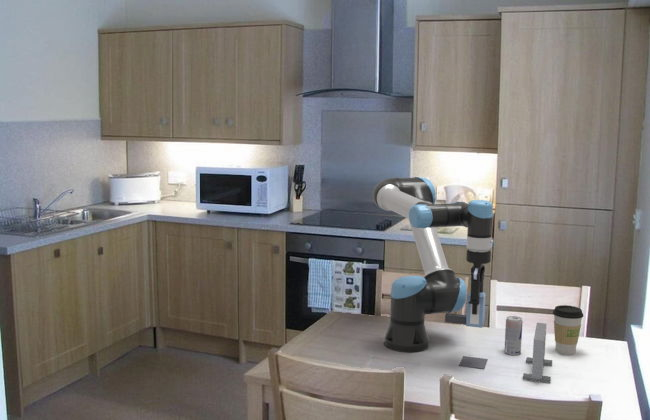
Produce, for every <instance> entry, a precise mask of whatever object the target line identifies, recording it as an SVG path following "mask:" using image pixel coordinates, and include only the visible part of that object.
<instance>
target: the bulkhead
mask: <svg viewBox="0 0 650 420" xmlns="http://www.w3.org/2000/svg"><path fill="white" fill-rule="evenodd" d="M535 325H536V326H535V332H534V336H533V345H532V357H530V356H529V357H527V356H526V360H525V363H526V364H530V365H531V373H523V374H522V380H523V381H530V382H537V383H543V384H551V381H552V376H549V375H547V376H546V375H543V371H544V368H545V366H546V367H553V360H552V359H547V358H546V357H545V354H546V339H547V323H546V322H545V323H543V322H536V324H535ZM545 358H546V359H545Z"/></svg>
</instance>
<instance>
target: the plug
mask: <svg viewBox="0 0 650 420" xmlns="http://www.w3.org/2000/svg"><path fill="white" fill-rule="evenodd" d="M470 295H471V290H470V291H469V292H468V294H467V296H466V314H459V313H452V312H451V313H445V314H444V323H448V324H457V325H465V326H466V327H471V328H472V327H473V328H479V329H480V328H481V329H483V326H484V324H485V318H486V317H485V315H486V314H485V313H486V296H487V295H486V292H484V291H483V292H480V297H479V304H480V309H479V325H478V324H470V309H471V304H468V302H470Z"/></svg>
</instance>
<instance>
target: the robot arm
mask: <svg viewBox="0 0 650 420" xmlns="http://www.w3.org/2000/svg"><path fill="white" fill-rule="evenodd" d="M436 194H437V193H436V189H435V186H434V185H433V182H432V181H431V179H429V178H426V177H420V176H414V177H389V178H386V179H383V180H381V181H379V182H378V183H377V184H376V185H375V186H374V188H373V191H372V199H373V202H374V204H375V205H376V207H378V209H381V210H384V211H388V212H391V211H392V212H394V213H396V214H398V215H399V216H402V217H404V218H406V219H408V222H409V224H410V228H411V229H410V230H411V231H412V235H413V239H414V242H415V246H416V249H417V253H418V256H419V258H420V261H421V262H420V263H421V265H422V270H423V272H424V274H423V276H420V275H405V276H402V277H398V278H396V279H395V280H394V281H393V282H392V283H391V289H390V316H389V317H390V321H389V325H388V328H387V331H386V334H385V336H384V346H385V347H386V348H388V349H391V350H394V351H397V352H404V353H415V352H422V351H425V350H427V349H428V348H429V346H430V345H429V343H430V341H429V340H430V339H429V335H428V332H427V328H426V325H425V318H426V317H425V316H426V315H435V314H436V315H437V314H446V313H451V314H452V313H455V312H460V311H461V310H462V309H463V308H464V306H465V304H466V302H467V295H468V294H467V291H468V290H467V285H466V282H465V280H464V279H463V278H461V277H456V273H455V271H454V269H452V268H449V265H448V262H447V259H446V257H445V253H444V250H443V246H442V244H441V239H440V237H439V234H438V230H437V228H451V227H465V228H467V232H466V233H467V234H466V249H467V250H466V254H465V255H466V257H465V258H466V262H468V263H471V264H473V265H471V266H472V267H470V276H471V277H470V291H471V295H470V302H468V304H471V309H470V324H478V325H479V309H480V304H479V297H480V292H483V293H484V280H485V272H486V266H485V265H487V264H489V263H491V261H492V252H491V249H492V244H493V243H494V240H493V239H492V238H493V237H492V235H493V221H494V220H493V219H494V208H493V207H494V205H493V203H492V201H490V200H484V199H474V200H470V201H469V202H468V203H467V202H464V201H454V202H451V203H436V200H437V199H436V198H437V196H436Z"/></svg>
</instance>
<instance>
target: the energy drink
mask: <svg viewBox="0 0 650 420" xmlns="http://www.w3.org/2000/svg"><path fill="white" fill-rule="evenodd" d="M523 322H524V321H523V318H522V317H520V316H516V315H509V316H506V319H505V331H504V334H505V335H504V353H505V354H507V355H509V356H518V355H521V353H522V338H523V337H522V335H523Z"/></svg>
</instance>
